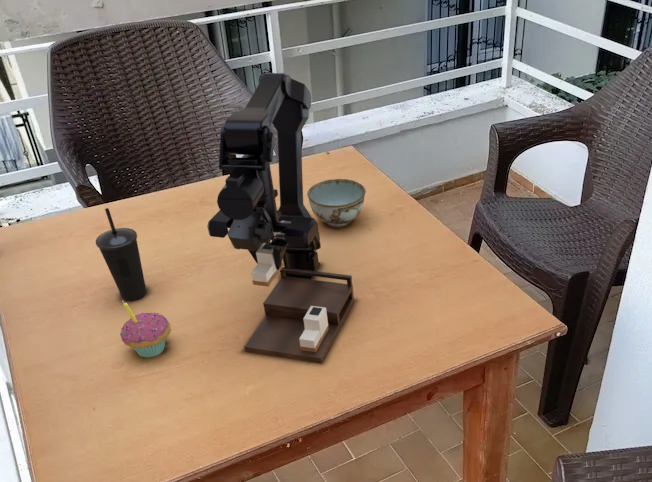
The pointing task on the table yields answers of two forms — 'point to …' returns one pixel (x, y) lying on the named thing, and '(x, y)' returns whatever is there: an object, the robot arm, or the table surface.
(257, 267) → the white l-shaped block
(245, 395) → the table surface
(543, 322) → the table surface
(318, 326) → the white stacked box shape
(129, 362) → the table surface
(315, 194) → the bowl
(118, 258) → the drinking cup
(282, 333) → the shoe rack
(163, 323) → the cupcake
